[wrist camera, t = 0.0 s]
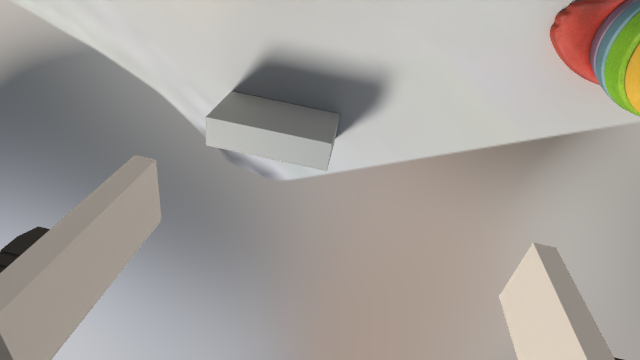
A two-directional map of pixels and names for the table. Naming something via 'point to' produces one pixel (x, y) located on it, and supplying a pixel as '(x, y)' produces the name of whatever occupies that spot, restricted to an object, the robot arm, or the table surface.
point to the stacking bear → (603, 46)
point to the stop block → (273, 130)
